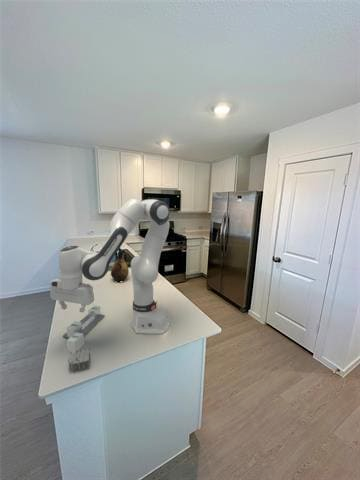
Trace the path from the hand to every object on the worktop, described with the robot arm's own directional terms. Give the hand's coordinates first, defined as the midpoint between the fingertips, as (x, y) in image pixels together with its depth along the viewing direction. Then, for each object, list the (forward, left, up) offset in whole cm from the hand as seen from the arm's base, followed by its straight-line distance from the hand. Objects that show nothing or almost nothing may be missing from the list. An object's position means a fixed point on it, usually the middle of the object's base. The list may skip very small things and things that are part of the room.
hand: (73, 310), depth 91 cm
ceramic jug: (+21, -83, -20) cm, 88 cm away
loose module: (0, 0, -20) cm, 20 cm away
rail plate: (+6, -16, -20) cm, 26 cm away
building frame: (-9, +9, -20) cm, 24 cm away
